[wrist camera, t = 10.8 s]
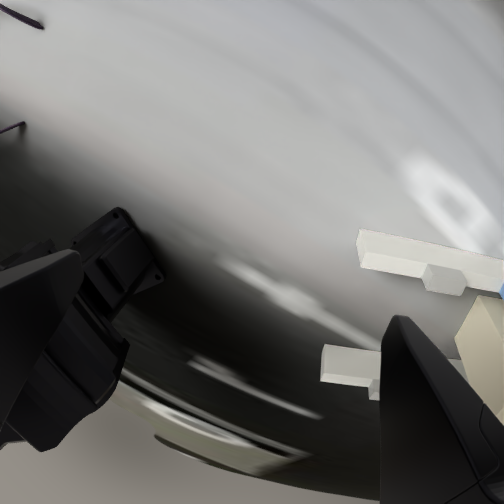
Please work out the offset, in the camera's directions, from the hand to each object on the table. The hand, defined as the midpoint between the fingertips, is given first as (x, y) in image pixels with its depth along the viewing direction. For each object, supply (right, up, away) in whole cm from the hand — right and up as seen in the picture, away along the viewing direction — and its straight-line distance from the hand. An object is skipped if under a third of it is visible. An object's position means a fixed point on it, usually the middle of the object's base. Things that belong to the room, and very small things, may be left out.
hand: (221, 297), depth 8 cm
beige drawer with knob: (+19, -4, +12) cm, 23 cm away
